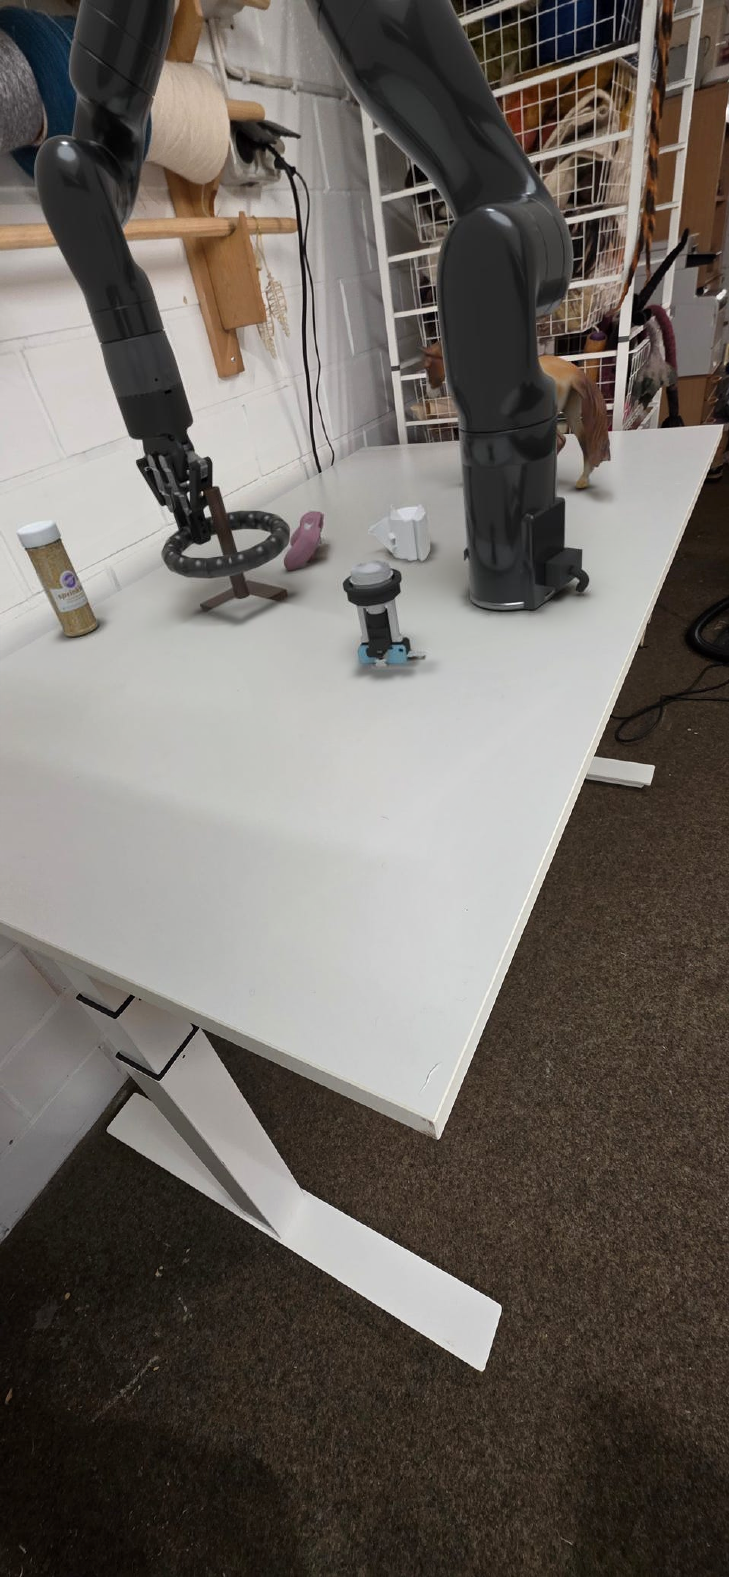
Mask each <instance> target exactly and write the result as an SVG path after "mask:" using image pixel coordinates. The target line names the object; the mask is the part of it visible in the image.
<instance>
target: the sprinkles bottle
mask: <svg viewBox="0 0 729 1577" xmlns="http://www.w3.org/2000/svg"><path fill="white" fill-rule="evenodd" d="M59 530H60V529H59V528H58V526H57V524H56V522H55V521H53V520H50V519H47V520H40V521H35V522H32V523H29V524H27V525H23V526H22V527H20V528H18V530H17V531H16V536H17V537H18V540H19V542H20V544H21V546H22V547H23V548H24V551H25V552H26V553H27V556H28V558H29V559H30V562H31V564H32V567H33V569H34V570H35V574H36V576H37V579H38V581H39V582H40V585H41V587H42V589H43V591H44V593H45V596H46V597H47V600H48V602H49V603H50V606H51V608H52V610H53V612H54V613H55V615H56V617H57V619H58V621H59V623H60V625H61V627H62V630H63V631H62V632H63V634H64V635H65V636H67V637H72V638H73V637H79V636H83V635H86V634H88V633H90V632H92V631H94V630H95V629H97V627H98V626H99V621H98V619H97V618H96V616H95V614H94V611H93V609H92V607H91V605H90V602H89V598H88V596H87V594H86V592H85V590H84V587H83V585H82V582H81V580H80V578H79V576H78V574H77V571H76V570H75V568H74V564H73V563H72V561H71V559H70V557H69V554H68V552H67V550H66V548H65V545H64V543H63V539H62V538H61V536H62V535H61V532H60V531H59Z"/></svg>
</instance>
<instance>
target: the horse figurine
mask: <svg viewBox="0 0 729 1577" xmlns="http://www.w3.org/2000/svg"><path fill="white" fill-rule="evenodd" d="M417 349H418V350H419V351H421V352H422V354H424V355H423V365H424V369H425V377H426V378H425V379H426V390H425V392H426V396H427V397H429V398H430V399H431V400H433V399H437V398H438V397H439V395H440V388H441V387H442V386H443V383H444V381H445V380H446V377H445V369H444V361H443V353H442V345H441V339H439V340H437V341H436V342H434V343H433V344H432V345H430V346H429V347H428V346H423V345H421V346H418V347H417ZM539 362H540V365H541V368H542V370H543V371H544V373H545V374H547V375H549V376H551V377H552V378H553V379H554V380H555V382H556V384H557V390H558V412H557V414H558V415H559V414H560V413H562V414H563V416H564V417H565V419H566V422H567V425H568V428H569V429H570V431H571V432H572V434H573V435H574V436H575V437H576V440H577V442H578V444H579V447H580V449H581V452H582V458H583V470H582V474H581V475H580V477H579V479H578V481H577V482H576V485H575V488H577V489H583V488H585V487H589V485H590V483H591V478H590V476H591V474H592V473H593V472H594V470H595V468H599V467H600V465H601V464H602V463H603V462H607V461H608V462H610V461H611V460H612V455H611V449H610V446H611V440H610V438H609V436H610V435H609V428H608V406H607V402H606V400H605V399H604V398H605V397H604V395H603V392H602V390H601V389H600V388H599V385H598V384H597V382H596V381H594V380H593V379H592V378H591V377H590V376H589V375H588V374H587V373H586V372H585V371H584V370H582V369H580V368H579V367H578V366H577V365H575V364H574V363H572V362H570V361H568V360H566V359H563V358H561V357H559V356H555V355H547V354H546V355H542V356H539ZM566 443H567V439H566V436H565V435H564V434H563V433H562V432H561V431H560V429H559V428H557V456H558V455H559V454H560V452H561V451H562V450H563V449H564V447H565V446H566Z"/></svg>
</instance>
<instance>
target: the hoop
mask: <svg viewBox="0 0 729 1577" xmlns="http://www.w3.org/2000/svg"><path fill="white" fill-rule="evenodd" d="M226 513H227V516H228V520H229V524H230V527H231V531H232V532H234V531H240V530H255V531H257V530H260V531H264V532H267V533H270V534H269V536H268V537H266V539H264V540H262V541H260V542H259V543H257V544H255V545H254V546H251V547H250V548H247V549H243V550H240V551H237V553H233V554H230V555H225V556H223V555H218V556H212V557H195V556H188V555H184V554H183V553H184V552H185V551H186V550H187V549H188V548H189V547H190V546H192V545H194V544H195V543H194V541H193V537H192V534H191V532H190V528H189V525H187V526H185V527H183V528H181V529H179V530H178V529H177V531H175V532H174V533H173V534H172V535H170V536H169V537H168V538H167V539H166V540H165V542H164V545H163V547H162V550H161V552H160V555H161V559H162V561H163V563H164V564H165V566H166V567H167V569H168V571H170V572H172V573H174V574H177V575H180V576H183V577H185V578H189V579H208V580H209V579H216V578H217V579H218V578H225V577H229V576H231V575H236V574H239V573H242V572H243V573H246V572H248V571H251V570H255V569H257V568H261V566H263V565H265V564H267V563H269V562H271V561H273V560H274V559H277V557H278V556H279V555H281V553H282V552H283V551H284V550H285V549H286V548H287V547H288V546H289V543H290V539H291V527H290V525H289V523H288V522H286V521H285V520H284V519H283V518H282V517H281V516H280V515H279V514H275V513H271V512H268V511H264V510H236V511H229V512H226ZM205 518H206V521H207V525H208V527H209V531H210V535H211V537H213V536H217V533H216V530H215V527H214V523H213V520H212V517H211V515H210V516H207V517H205Z"/></svg>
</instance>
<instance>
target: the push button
mask: <svg viewBox="0 0 729 1577" xmlns="http://www.w3.org/2000/svg"><path fill="white" fill-rule="evenodd" d="M349 572H350V575H349V576H348V577H346V578H345V579H344V580H343V581H342V589H343V591H344V593H346V596H347V597H346V598H347V601H348V602H349V603H351V604H353V605H355V606H356V609H357V615H358V621H359V626H360V631H361V637H360V638H359V640H360V642H361V644H360V645H359V646H358V648H357V656H358V660H359V664H375V667H387V666H388V665H387V664H406V663H407V662H408V660H409V659H410V658H413V657H425V654H426V651H416V650H412V647H411V641H410V638H409V637H406V636H405V637H404V634H402V633H401V631H400V624H399V617H398V611H397V610H398V609H397V604H396V598H397V597H398V596H399V595H400V594H401V592H402V590H401V582H402V580H403V577H402V576H403V575H402V573H401V571H400V570H398V569H396V568H392V567H391V565H390V563H389V562H387V561H385V560H371V561H366V562H362V563H359V564H357V565H355V566H354V567H352V568H351V569H350V571H349Z"/></svg>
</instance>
